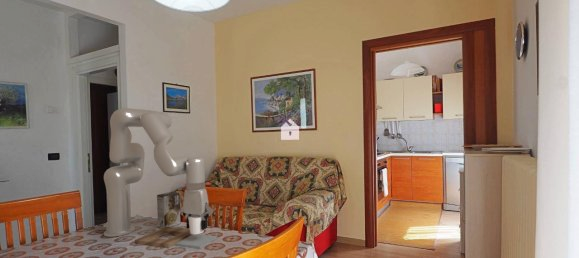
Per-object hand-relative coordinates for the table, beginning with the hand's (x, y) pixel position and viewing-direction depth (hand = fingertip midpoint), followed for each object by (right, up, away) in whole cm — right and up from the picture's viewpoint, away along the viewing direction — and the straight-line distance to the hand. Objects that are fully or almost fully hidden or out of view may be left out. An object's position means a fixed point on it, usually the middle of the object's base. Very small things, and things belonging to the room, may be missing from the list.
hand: (196, 227), depth 124 cm
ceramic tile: (0, -6, 0) cm, 6 cm away
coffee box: (-21, -7, +23) cm, 32 cm away
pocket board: (-15, -6, +5) cm, 17 cm away
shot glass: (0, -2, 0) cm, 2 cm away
